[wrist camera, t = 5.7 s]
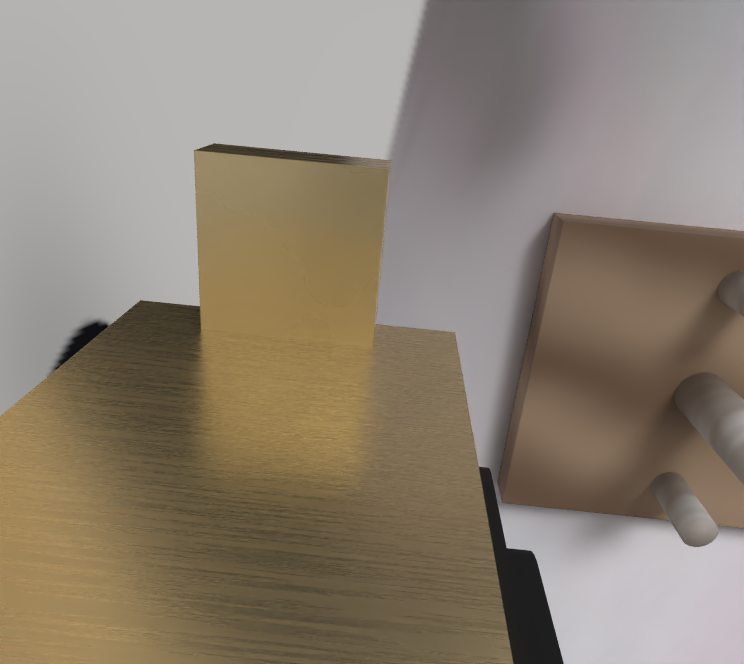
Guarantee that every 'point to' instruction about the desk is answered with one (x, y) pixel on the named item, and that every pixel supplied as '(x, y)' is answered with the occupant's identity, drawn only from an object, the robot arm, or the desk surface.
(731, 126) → the desk surface
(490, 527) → the robot arm
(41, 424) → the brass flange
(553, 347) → the post dock
